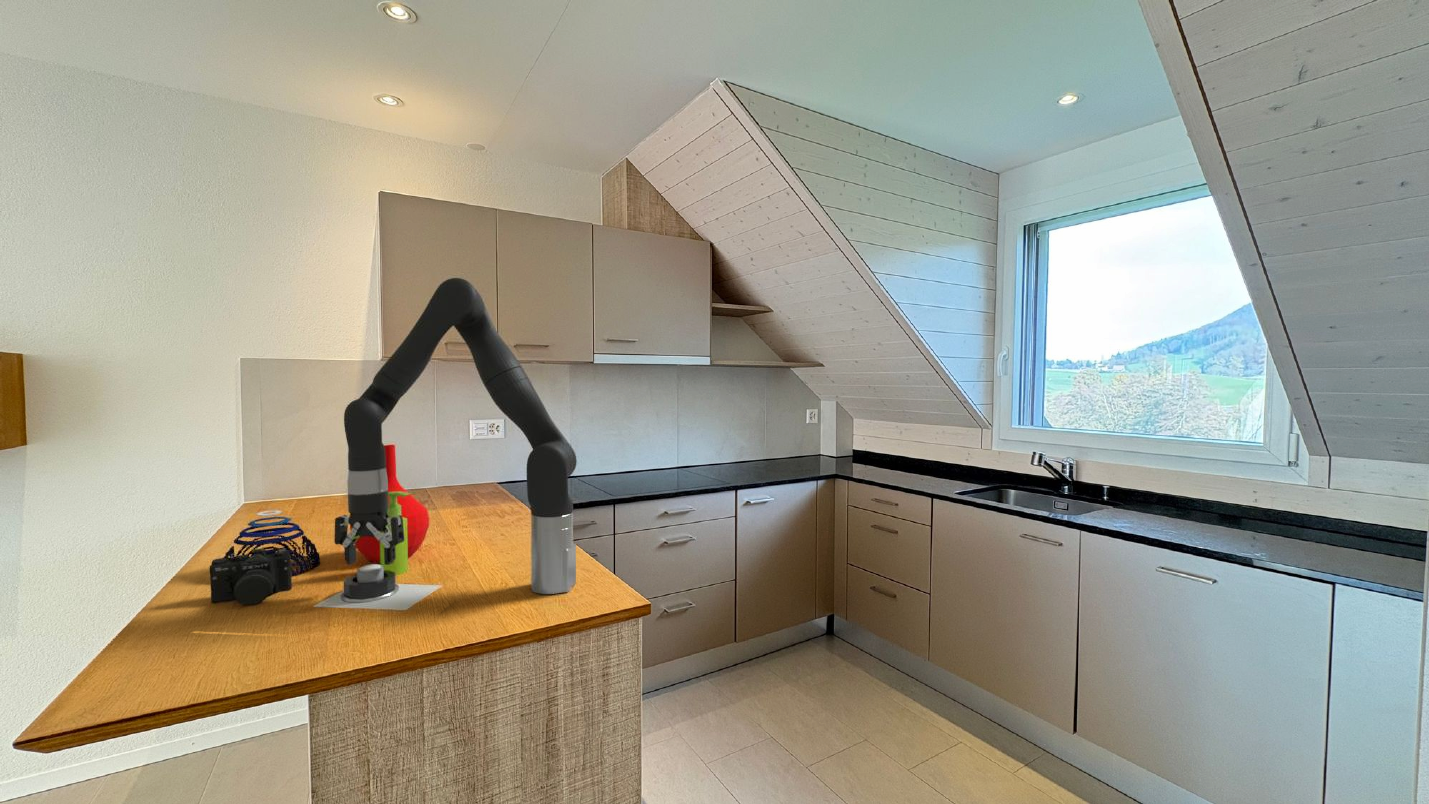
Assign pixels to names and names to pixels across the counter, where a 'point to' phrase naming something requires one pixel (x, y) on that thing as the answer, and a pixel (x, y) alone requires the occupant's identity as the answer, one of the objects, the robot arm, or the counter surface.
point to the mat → (398, 601)
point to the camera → (250, 576)
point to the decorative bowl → (278, 542)
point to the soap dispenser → (402, 548)
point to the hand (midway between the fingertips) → (370, 563)
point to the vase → (409, 510)
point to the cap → (370, 573)
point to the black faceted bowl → (369, 589)
